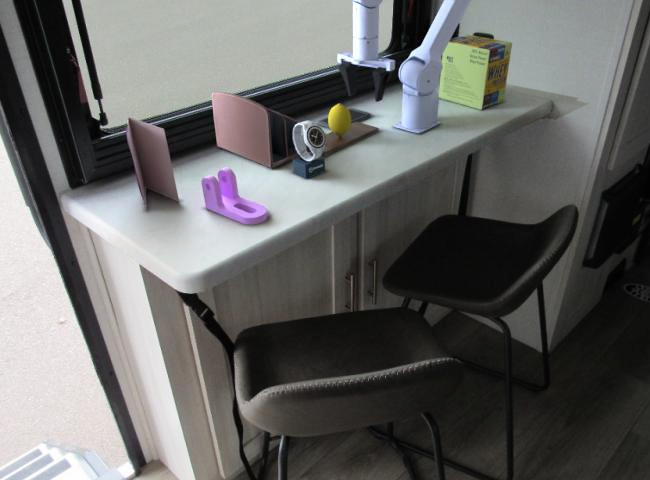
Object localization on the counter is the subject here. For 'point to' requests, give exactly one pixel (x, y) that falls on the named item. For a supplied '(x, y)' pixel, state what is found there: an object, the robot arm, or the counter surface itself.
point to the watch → (316, 142)
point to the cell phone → (355, 117)
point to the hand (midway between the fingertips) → (365, 97)
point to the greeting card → (151, 158)
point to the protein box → (475, 71)
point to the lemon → (339, 119)
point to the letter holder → (253, 130)
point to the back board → (347, 137)
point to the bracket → (230, 199)
